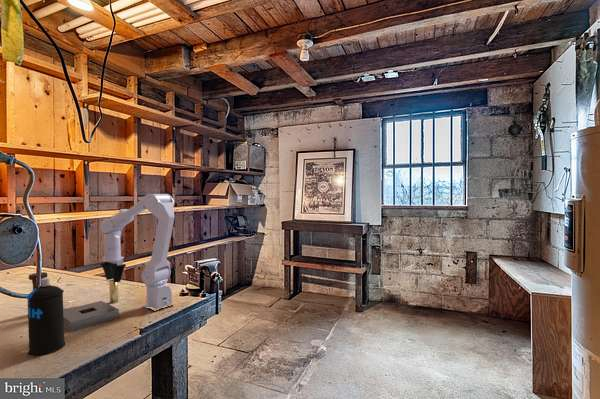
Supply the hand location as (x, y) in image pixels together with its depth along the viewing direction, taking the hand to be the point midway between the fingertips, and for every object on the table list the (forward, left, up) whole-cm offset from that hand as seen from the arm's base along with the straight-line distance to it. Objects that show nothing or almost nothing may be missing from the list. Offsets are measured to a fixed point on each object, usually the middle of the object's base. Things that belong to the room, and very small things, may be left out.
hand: (113, 280), depth 127 cm
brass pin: (0, 0, -9) cm, 9 cm away
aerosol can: (-28, +28, -9) cm, 41 cm away
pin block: (-12, +13, -9) cm, 20 cm away
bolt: (+10, +22, -9) cm, 26 cm away
